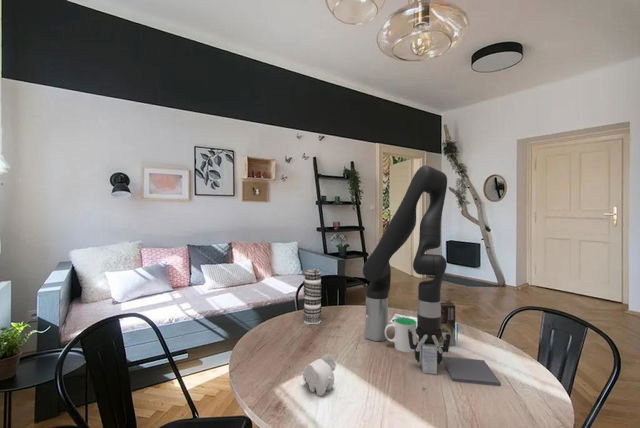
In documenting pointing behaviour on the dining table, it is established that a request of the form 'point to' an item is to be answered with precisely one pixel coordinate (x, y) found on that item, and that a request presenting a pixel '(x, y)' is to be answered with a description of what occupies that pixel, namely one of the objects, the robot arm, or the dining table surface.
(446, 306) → the coffee box
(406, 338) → the mug
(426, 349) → the medicine box
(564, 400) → the dining table surface
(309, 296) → the decorative candle
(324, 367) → the elephant figurine
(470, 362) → the rubber mat
